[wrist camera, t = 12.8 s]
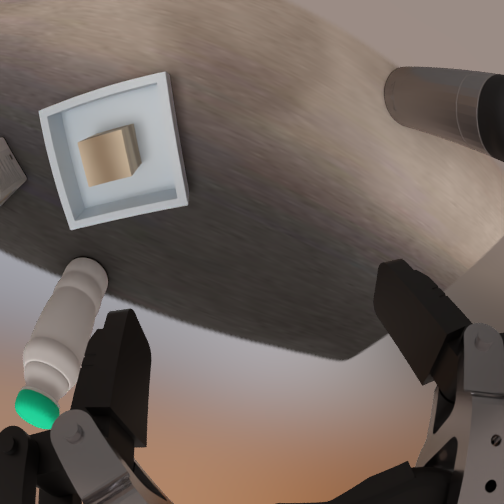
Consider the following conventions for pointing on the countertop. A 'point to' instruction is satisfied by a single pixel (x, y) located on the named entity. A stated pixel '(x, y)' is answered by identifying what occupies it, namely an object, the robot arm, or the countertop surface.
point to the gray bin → (149, 143)
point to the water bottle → (60, 341)
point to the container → (9, 172)
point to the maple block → (110, 155)
